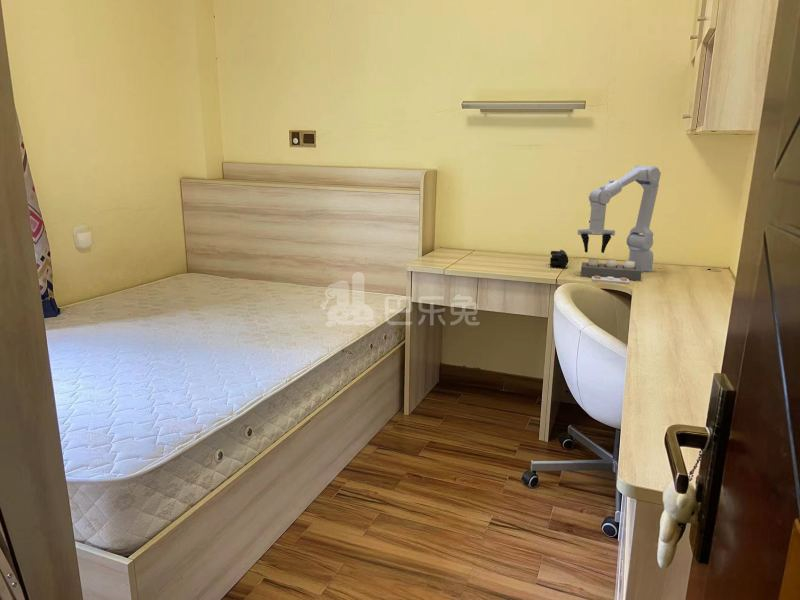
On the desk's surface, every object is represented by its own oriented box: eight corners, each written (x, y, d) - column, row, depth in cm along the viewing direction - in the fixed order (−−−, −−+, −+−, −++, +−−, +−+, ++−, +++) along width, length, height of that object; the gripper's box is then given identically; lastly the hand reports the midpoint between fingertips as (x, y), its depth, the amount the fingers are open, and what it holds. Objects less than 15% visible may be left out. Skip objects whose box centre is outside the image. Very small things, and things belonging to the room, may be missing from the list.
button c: (597, 268, 253) (598, 258, 252) (597, 270, 249) (598, 260, 248) (587, 267, 254) (588, 258, 253) (587, 269, 250) (588, 259, 249)
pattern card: (628, 280, 242) (629, 277, 241) (629, 284, 236) (629, 280, 236) (591, 278, 246) (592, 274, 245) (591, 281, 240) (592, 277, 240)
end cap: (567, 269, 263) (569, 253, 262) (550, 268, 264) (552, 253, 263) (566, 264, 273) (567, 249, 271) (549, 264, 274) (551, 249, 272)
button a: (633, 270, 249) (634, 261, 248) (634, 272, 245) (635, 262, 244) (623, 270, 250) (624, 260, 249) (623, 271, 246) (624, 262, 245)
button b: (615, 269, 251) (616, 259, 250) (615, 271, 247) (616, 261, 246) (605, 268, 252) (606, 259, 251) (605, 270, 248) (606, 261, 247)
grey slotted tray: (638, 275, 252) (640, 266, 251) (640, 281, 242) (641, 271, 241) (581, 271, 259) (582, 262, 258) (580, 276, 249) (581, 266, 248)
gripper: (613, 218, 250) (609, 251, 253) (577, 217, 251) (574, 250, 254) (617, 220, 243) (614, 254, 246) (580, 219, 244) (577, 253, 248)
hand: (594, 252), depth 250 cm, fingers open, 6 cm apart
